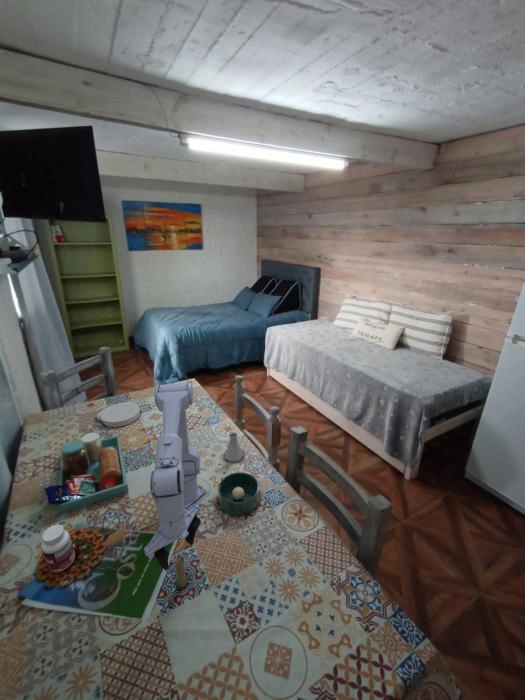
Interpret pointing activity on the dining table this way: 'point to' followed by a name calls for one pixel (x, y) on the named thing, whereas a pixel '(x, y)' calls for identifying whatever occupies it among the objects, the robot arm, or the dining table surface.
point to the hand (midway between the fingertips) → (177, 554)
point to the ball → (238, 493)
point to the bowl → (250, 493)
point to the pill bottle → (57, 548)
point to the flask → (233, 449)
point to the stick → (180, 572)
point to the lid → (119, 414)
